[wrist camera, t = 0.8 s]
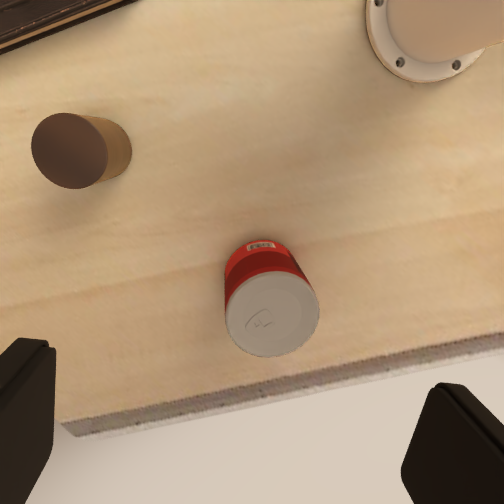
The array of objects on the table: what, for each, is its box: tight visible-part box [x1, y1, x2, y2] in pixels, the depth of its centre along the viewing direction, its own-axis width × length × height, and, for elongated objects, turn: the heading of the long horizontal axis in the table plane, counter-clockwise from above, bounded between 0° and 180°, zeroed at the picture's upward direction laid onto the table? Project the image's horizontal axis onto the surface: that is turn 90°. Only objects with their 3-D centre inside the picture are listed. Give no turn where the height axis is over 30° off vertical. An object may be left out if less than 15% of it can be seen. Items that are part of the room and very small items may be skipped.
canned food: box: [224, 240, 320, 358], centre depth 35 cm, size 8×8×11 cm
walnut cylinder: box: [31, 113, 132, 189], centre depth 32 cm, size 6×6×8 cm
